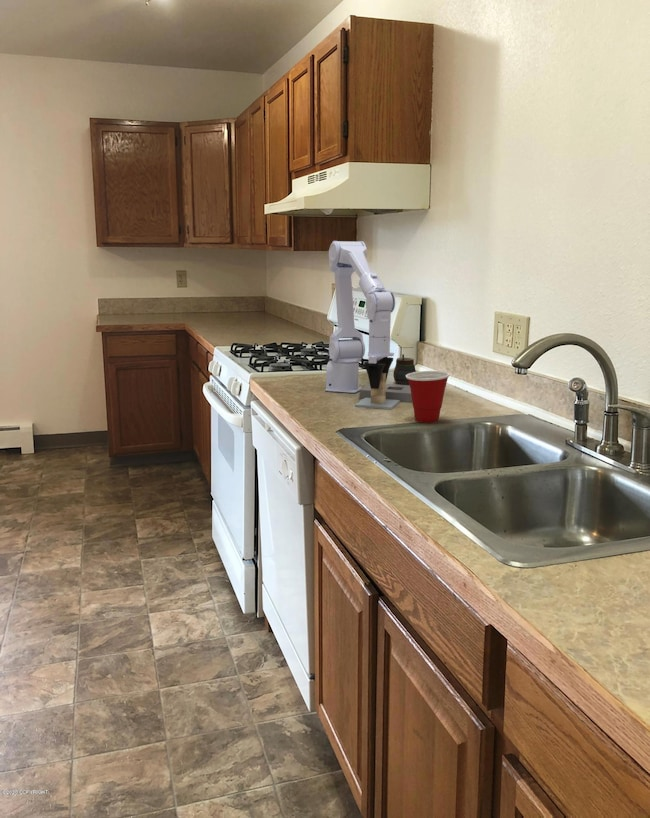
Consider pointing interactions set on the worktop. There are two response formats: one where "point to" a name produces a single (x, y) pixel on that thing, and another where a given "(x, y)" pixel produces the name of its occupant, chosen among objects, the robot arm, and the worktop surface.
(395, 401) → the mat
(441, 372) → the plastic cup
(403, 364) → the mate gourd
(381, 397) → the plug
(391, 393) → the grey flat plate
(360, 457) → the worktop surface
